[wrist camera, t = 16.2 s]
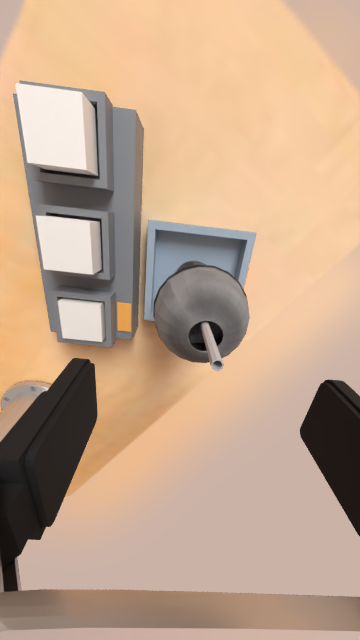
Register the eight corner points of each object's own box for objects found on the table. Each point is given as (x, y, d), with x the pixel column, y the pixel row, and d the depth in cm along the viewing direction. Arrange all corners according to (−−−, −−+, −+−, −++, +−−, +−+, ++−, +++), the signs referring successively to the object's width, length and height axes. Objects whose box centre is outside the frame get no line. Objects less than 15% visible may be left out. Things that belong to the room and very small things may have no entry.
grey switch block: (137, 326, 31) (123, 358, 23) (66, 319, 30) (30, 349, 23) (143, 127, 22) (123, 79, 14) (42, 114, 21) (-32, 58, 14)
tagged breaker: (108, 332, 27) (102, 342, 24) (72, 328, 26) (62, 338, 24) (107, 298, 25) (100, 305, 23) (68, 294, 25) (57, 301, 22)
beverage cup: (166, 308, 29) (142, 454, 10) (160, 251, 26) (111, 313, 7) (221, 304, 28) (296, 446, 10) (221, 246, 26) (326, 297, 7)
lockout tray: (231, 321, 30) (235, 329, 28) (147, 312, 30) (144, 319, 28) (251, 231, 25) (258, 233, 23) (151, 220, 25) (148, 220, 23)
